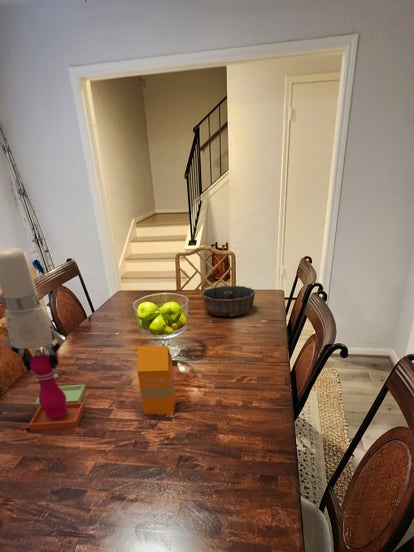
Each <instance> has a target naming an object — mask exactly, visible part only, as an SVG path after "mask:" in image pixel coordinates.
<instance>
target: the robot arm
mask: <svg viewBox="0 0 414 552" xmlns="http://www.w3.org/2000/svg"><path fill="white" fill-rule="evenodd" d="M0 289H1V290H0V291H1V294H2V298H0V305H5V307H6V308H5V309H4V318H5V325H6V330H7V333H8V336H7V338H6V340H5V341H4V343H3V345H4V347H6V348H8V349H10V350H11V351H12V352H14V353H15V354H17V355H18V357H19V358H21V360H22V363H23V366H24V367H25V369H26V371H28V372H29V371H32V370H31V368H30V360H31V358H32V356H31V353H30V352H28V349H35V348H40V347H45V348H46V349H47V350H48V352H49V353H50V355H49V359H50V363H51V366H52V369H54V370H55V369H57V367H58V365H59V363H60V360H59V357H58V354H57V353H58V352H57V351H58V350H60V348H61V347H62V345H63V344H64V343H65V342H66V337H65V336H64V335H62V334H60V333H59V332H57V330H55V329H54V326H53V324H52V321H51V318H50V316H49V314H48V311H47V310H46V308H45V306H44V304H43V303H41V301H40V298H39V294H38V290H37V287H36V283H35V280H34V276H33V273H32V269H31V266H30V263H29V259H28V255H27V253H26V251H25V250H24V249H23V248H21V247H19V246H18V247H16V246H11V247H9V246H8V247H0ZM55 340H56V341H57V342H56V343H54V341H55Z"/></svg>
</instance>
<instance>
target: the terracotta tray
mask: <svg viewBox="0 0 414 552" xmlns="http://www.w3.org/2000/svg"><path fill="white" fill-rule="evenodd" d="M66 405H67V409H68V411H67V413H66V414H65V415H64V416H62V417H59V418H53V419H51V418H48V417H46V415H45V412H44V408H42V407H41V406H39V408H38V409H36V411H35V413H34V415H33V416H32V418H31V420H30V421H29V423H28V428H29V430H30V431H43V430H44V431H45V430H56V429H68V428H78V426H79V425H80V421H81V419H82V416H83V415H84V411H85V409H86V407H85V403H84V402H83V401H81V403H68V404H66Z"/></svg>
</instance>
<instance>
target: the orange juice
mask: <svg viewBox="0 0 414 552" xmlns="http://www.w3.org/2000/svg"><path fill="white" fill-rule="evenodd" d="M136 358H137V361H136V363H137V366H136V368H137V377H138V383H139V390H140V398H141V402H142V408H143V414H144V415H174V414H175V408H176V403H177V396H176V386H175V384H176V383H175V377H174V367H173V357H172V356H171V352H170V349H169V345H149V346H148V345H147V346H145V345H144V346H137V347H136Z"/></svg>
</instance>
